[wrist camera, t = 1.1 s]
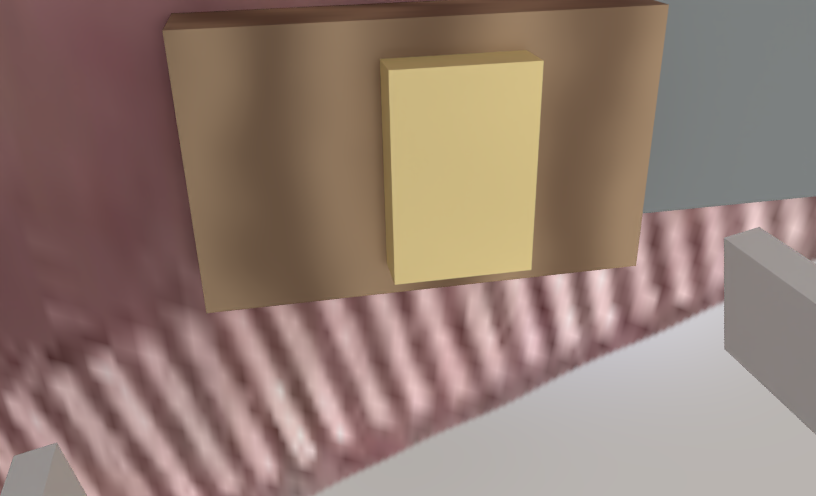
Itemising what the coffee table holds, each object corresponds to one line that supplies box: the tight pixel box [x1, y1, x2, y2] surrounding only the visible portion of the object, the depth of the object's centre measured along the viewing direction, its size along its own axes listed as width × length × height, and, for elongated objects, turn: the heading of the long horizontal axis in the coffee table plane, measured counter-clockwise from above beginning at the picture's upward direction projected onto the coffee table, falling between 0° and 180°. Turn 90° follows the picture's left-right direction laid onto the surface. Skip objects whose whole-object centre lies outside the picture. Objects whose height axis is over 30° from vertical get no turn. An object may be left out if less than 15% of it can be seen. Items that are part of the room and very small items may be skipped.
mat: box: [643, 0, 816, 213], centre depth 38 cm, size 14×12×1 cm
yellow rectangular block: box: [380, 50, 544, 285], centre depth 31 cm, size 9×6×2 cm, turn 1°
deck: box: [163, 0, 669, 313], centre depth 34 cm, size 20×12×4 cm, turn 91°
